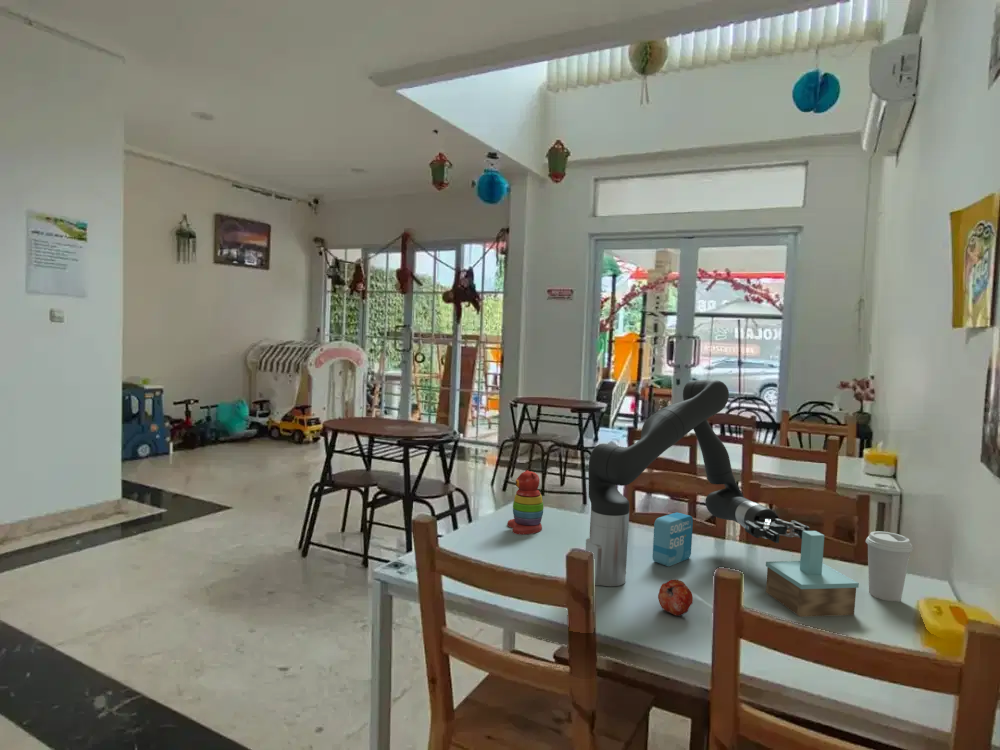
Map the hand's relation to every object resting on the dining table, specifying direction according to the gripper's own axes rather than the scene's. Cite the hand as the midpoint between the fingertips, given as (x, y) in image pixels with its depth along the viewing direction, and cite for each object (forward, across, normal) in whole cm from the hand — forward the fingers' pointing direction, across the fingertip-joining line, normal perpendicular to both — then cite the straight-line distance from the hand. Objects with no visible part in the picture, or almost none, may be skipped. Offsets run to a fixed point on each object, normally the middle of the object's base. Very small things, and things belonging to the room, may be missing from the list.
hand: (794, 538), depth 150 cm
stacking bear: (-52, -54, +14) cm, 76 cm away
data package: (-24, -20, +14) cm, 33 cm away
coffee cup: (+4, +22, +14) cm, 26 cm away
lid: (+7, 0, +7) cm, 10 cm away
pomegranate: (+7, -32, +14) cm, 36 cm away
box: (+7, 0, +14) cm, 15 cm away
